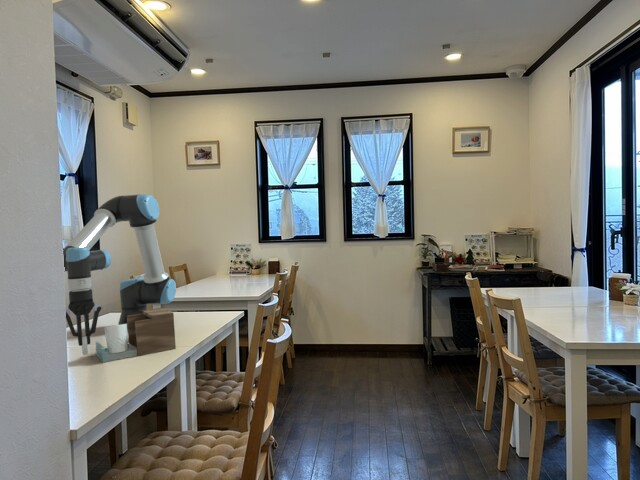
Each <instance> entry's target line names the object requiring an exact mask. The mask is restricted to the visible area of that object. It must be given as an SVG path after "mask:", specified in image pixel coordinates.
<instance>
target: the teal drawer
mask: <svg viewBox="0 0 640 480" xmlns="http://www.w3.org/2000/svg"><path fill="white" fill-rule="evenodd" d="M95 351H96V353H95V354H96V356H97V357H98V358H99V359H100V361H101V362H102V364H105V363H107V362H111V361H115V360H121V359H125V358H130V357H136V356H137V347H135V346H132V345H131V344H130V343H129V342H128V351H124V352H119V353H113V354H108V347H107V346H106V347H104V346H103V345H102V344H101V343H100V342H99V341H95ZM137 357H138V356H137Z"/></svg>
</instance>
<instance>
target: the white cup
mask: <svg viewBox="0 0 640 480" xmlns="http://www.w3.org/2000/svg"><path fill="white" fill-rule="evenodd" d="M103 329H104V330H103V331H104V335H105V336H104V337H105V341H106V348H107V347H108V354H113V353H119V352H124V351H128V344H129V339H128V329H127V324H122V325H119V324H117V325H112V326H111V325H110V326H105V327H103Z"/></svg>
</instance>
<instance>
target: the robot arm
mask: <svg viewBox="0 0 640 480" xmlns="http://www.w3.org/2000/svg"><path fill="white" fill-rule="evenodd" d="M160 212H161V211H160V205H159V203H158V201H157V200H156V198H155V197H154V196H153V195H150V194H142V193H139V194H129V195H127V194H126V195H118V196H115V197H112V198H109V200H107V201H106V202H104V203H103V204H101V205H100V206H99V207H98V208H97V209H96V210H95V211H94V213H93V216H92V218H90V220H89V221H88V222H87V223H86V224H85V225H84V226H83V227H82V228H81V230H80V231H79V232H78V233H77V234H76V235H75V236H74V237H73V238H72V240H71V241H69V243H68V244H67V245H65V247H64V248H63V249H62V250H64V267H65V271H64V272H67V285H68V290H69V292H68V299H69V300H68V301H69V303H68V307H67V308H66V309H65V310H66V317H65V319H66V322H67V325H68V327H69V330H70V332H71V335H72V337H76V338H77V343H78V346H79V347H81V353H82V355H83V356H85V355H89V350H88V349H89V347H88V345H91V335H93V334H95V333H96V330H97V326H98V319H99V316H100V315H99V313H100V312H101V310H102V306H101V305H97V304H95V301H94V299H93V290H92V287H93V285H92V273H91V272H93V271H100V270H101V271H102V270H104V269H107V268H109V266H111V264H112V255H111V254H110V252H109V251H107V250H104V249H96V250H91V249H92V248H93V246H94V245H96V243H97V242H98V241H99V239H100V238H101V237H102V236H103V235H104V234H105V233H106V232H107V230H108V229H109V228H111V227H114V226H115V225H116V224H117V223H121V222H128V223H129V225H130V228H132V229H134V232H135V236H136V241H137V245H138V249H139V253H140V257H141V262H142V266H143V269H144V272H145V277H144V276H141V277H135V278H130V279H125V280H123V281H120V283H119V294H120V307H121V309H120V310H121V311H120V316H119V320H118V324H117V325H122V324H127V316H130V315H136V314H143V312H142V311H143V310H148V305H159V304H160V305H164V304H171V303H172V302H173V301H174V300H175V296H176V292H177V283H176V281H175V280H174V279H173V278H170V275H169V273H168V272H166V271H165V267H164V264H163V263H164V262H163V259H162V255H161V249H160V247H159V241H158V237H157V232H156V228H155V225H156V224H157V222H158V221H157V219H158V218H160V217H159V216H160ZM92 310H93V317H92V322H91V327H90V313H91V311H92ZM71 313H73V315H75V318H76V319H75V320H76V330H77V331H76V330H75V326H74V324H73V321H72V319H71V317H70V315H71ZM82 316H83V320H84V333H85V335H83V330H82ZM127 330H128V325H127Z"/></svg>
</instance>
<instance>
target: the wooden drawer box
mask: <svg viewBox="0 0 640 480" xmlns="http://www.w3.org/2000/svg"><path fill="white" fill-rule="evenodd" d="M142 312H143V314H136V315H130V316H127V325H128V329H127V334H128V344H129V343H130V344H131V345H132V346H135V347H136V348H137V357H142V356H145V355H151V354H156V353H161V352H166V351H172V350H175V349H177V347H176V333H175V316H174V315H175V314H174V312H173V311H171V310H168V309H166V308H164V307H158V308H156V307H155V308H150V309H147V310H143V311H142Z"/></svg>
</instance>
